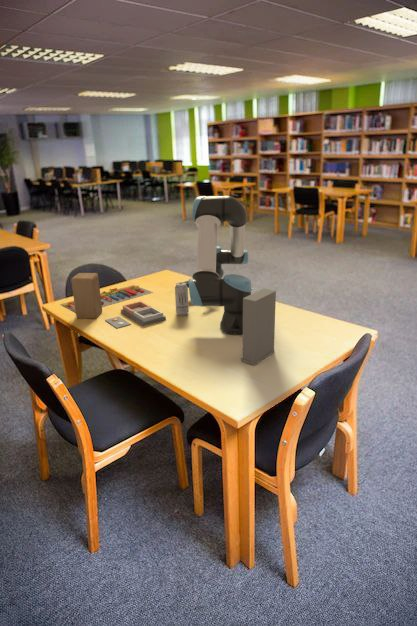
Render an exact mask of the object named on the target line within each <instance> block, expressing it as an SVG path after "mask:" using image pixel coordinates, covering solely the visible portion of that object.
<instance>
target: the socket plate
mask: <svg viewBox="0 0 417 626" xmlns="http://www.w3.org/2000/svg"><path fill="white" fill-rule="evenodd" d="M120 313H121V314H122V315H124V316H126V317H128V318H129V319H131V320H133V321H134V322H135V323H138V324H139V325H141V326H143V327H145V326H147V325H151V324H154V323H159V322H162V321H165V320H167V319H166V318H167V317H166V316H165V315H164V312H162V311H161V310H159V309H157V308H155V307H153V306H151V305H149V304H148V303H146V302H144V301H141V300H140V301H136V302H132V303H127V304H122V309H121V308H120Z"/></svg>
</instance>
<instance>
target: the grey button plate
mask: <svg viewBox="0 0 417 626" xmlns="http://www.w3.org/2000/svg"><path fill="white" fill-rule="evenodd" d="M105 322H106V323H108V324H109V325H111V326H113V328H115V329H120V328H124V327H126V326H127V327H128V326H131V325H132V323H130V322H129V321H127V320H126V319H124V318H123V317H121V316H114V317H111V318H107V319H105Z"/></svg>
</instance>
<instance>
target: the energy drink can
mask: <svg viewBox="0 0 417 626" xmlns="http://www.w3.org/2000/svg"><path fill="white" fill-rule="evenodd" d="M184 282H185V281H181V282H177V283H176V284H175V286H174V297H175V313H176V315H178V316H180V317H183V316H187V315H188V314H189V312H190V311H189V310H190V308H189V306H190V305H189V288H188V287H187V285H186V283H184Z"/></svg>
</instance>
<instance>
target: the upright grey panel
mask: <svg viewBox="0 0 417 626" xmlns="http://www.w3.org/2000/svg"><path fill="white" fill-rule="evenodd" d="M276 293H277V291H276V290H273V289H267V288H262V289H260V290H257V291H255V292H254V293H251V295H249V296H247V297H245V298H243V334H242V353H241V354H242V357H240V361H241V362H242V363H246V364H250V365H252V366H256V365H257V364H258V363H260V362H261V361H263V360H264V359H266V358H267V357H269V356H271V355H272V354H274V353H275V330H276V329H275V328H276V327H275V326H276V298H277V297H276V295H277V294H276Z"/></svg>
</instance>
